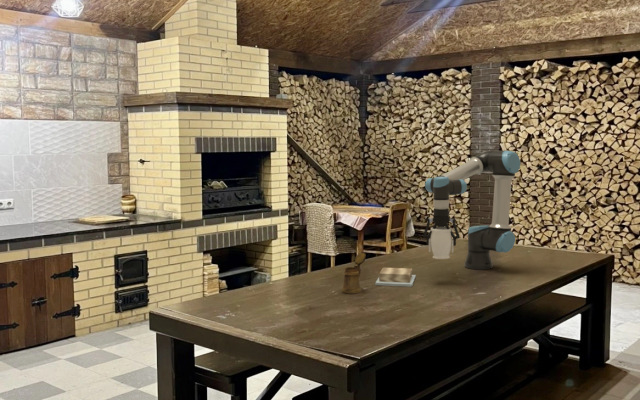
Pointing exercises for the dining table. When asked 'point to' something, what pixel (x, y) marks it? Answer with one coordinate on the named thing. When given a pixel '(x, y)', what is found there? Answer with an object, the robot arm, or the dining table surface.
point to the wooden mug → (353, 275)
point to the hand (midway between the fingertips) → (441, 252)
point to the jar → (441, 242)
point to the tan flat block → (395, 275)
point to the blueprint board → (396, 283)
